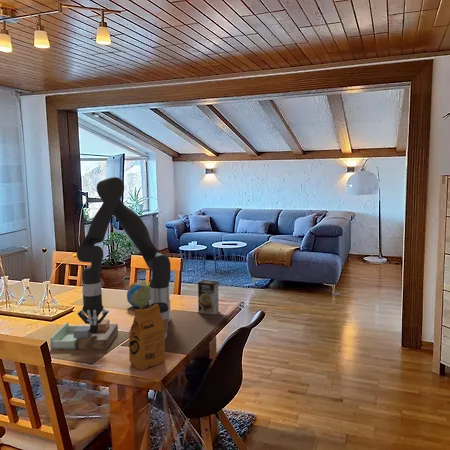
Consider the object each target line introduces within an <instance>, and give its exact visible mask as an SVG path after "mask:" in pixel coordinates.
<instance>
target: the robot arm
mask: <svg viewBox="0 0 450 450" xmlns="http://www.w3.org/2000/svg"><path fill="white" fill-rule="evenodd" d="M96 192H97V195H98V196H99V198H100V199H101V200H102V204H101V206H100V207H99V209H98V210H97V212H96V213H95V215H94V216H93V218H92V219H91V222H90V225H89V228H88V231H87V234H86V236H85V237H84V238H83V240H82V241H81V243H80V244H79V246H78V248H77V251H76V258H77V260H78V261H79V262H81V263H88V264H89V263H90V264H91V265H90V267H87V268H86V267H85V268H84V269H83V270H82V271H81V272H82V273H81V274H82V291H81V292H82V304H83V306H82V309H80V310H79V311H78V312H77V315H78V317H79V318H80V319H81V321H83V322H84V324H86V325H89V326H90V331H91V332H92V334H96V332H97V331H98V324H100V323H101V322H102V320H103V319H106V317H107V315H108V314H109V313H110V311H109V310H108V309H107V310H106V309H105V308H104V305H103V295H102V294H103V293H102V284H101V283H102V282H101V268H102V263H103V260H104V250H103V249H102V247H101V246H100V245H97V244H100V243H102V242H104V240H105V237H106V234H107V231H108V229H109V224H110V221H111V220H112V217H113V216H114V217H115V218H116V220H117V221H118V222H119V224H120V225H121V227H122V229H123V231H124V232H125V233H126V235H127V236H128V238H129V239H130V240H131V242H132V243H133V245H134V246H135V247H136V249H137V250H138V251H139V253H140V254H141V256H142V259H143V260H144V262H145V264H146V267H148V269H149V270H151V271H152V272H151V274H152V276H151V277H152V278H151V279H150V280H149V286H150V304H149V306H150V305H151V304H153V303H158V302H162V303H166V304H167V306H168V323H170V321H171V318H172V316H171V315H172V314H171V299H170V282H171V260H170V258H169V256H167V255H166V254H163V253H161V252H160V251H159V250H158V249H157V247H156V246H155V244H154V243H153V242H152V239H151V237H150V232H149V230H148V227H147V225H146V224H145V223H144V221H143V220H142V218H141V217H140V215H139V214H137V213H136V212H135V211H134V210H132V209H131V208H130V207H128V206H127V205H125V204H124V202H123V201H122V200H121V198H122V197H123V194H124V192H125V183H124V182H123V180H122V179H121V178H120V177H117V176H111V177H108V178H105V179H103V180H100V181H99V182H97V184H96ZM100 315H101V317H100V318H99V316H100ZM98 319H99V320H98Z"/></svg>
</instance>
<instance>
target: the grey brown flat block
mask: <svg viewBox="0 0 450 450" xmlns="http://www.w3.org/2000/svg"><path fill="white" fill-rule="evenodd" d="M118 325H119V324H117V323H110V326H109V327H108V329H107V330H106V331H97V332H96V334H91V335H90V337H89V338H79V339H78V340H77V344H78V347H77V350H107V349H108V348H109V347H110V346H111V344H112V343H113V341H114V339H115V338H116V336H117V334H118V333H119V329H118V328H119V327H118Z"/></svg>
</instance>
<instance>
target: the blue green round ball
mask: <svg viewBox="0 0 450 450" xmlns="http://www.w3.org/2000/svg"><path fill="white" fill-rule="evenodd" d="M126 300H127V302H128V304H130V305H131V306H132V307H133V308H134V307H135V308H138V309H144V308H145V307H146V306H148V305H149V306H150V285H149V284H147V282H146V281H142V282H140V281H139V282H133V283H131V284H130V285H129V287H128V290H127V293H126Z"/></svg>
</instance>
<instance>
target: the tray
mask: <svg viewBox="0 0 450 450" xmlns="http://www.w3.org/2000/svg"><path fill="white" fill-rule="evenodd" d="M78 326H90V324H86V325H69V322H65V323H64V324H63V325H62V326H61V327H60V328H59V329H58V330H57V331H56V332H55V333H54V334H53V335H52V336H50V338H49V339H50V350H51V349H54V351H55V349H56V350H57V349H65V350H76V349H78V344H77V340H78V339H79V338H74V333H73V331H74V330H75V329H76V328H77V327H78Z"/></svg>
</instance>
